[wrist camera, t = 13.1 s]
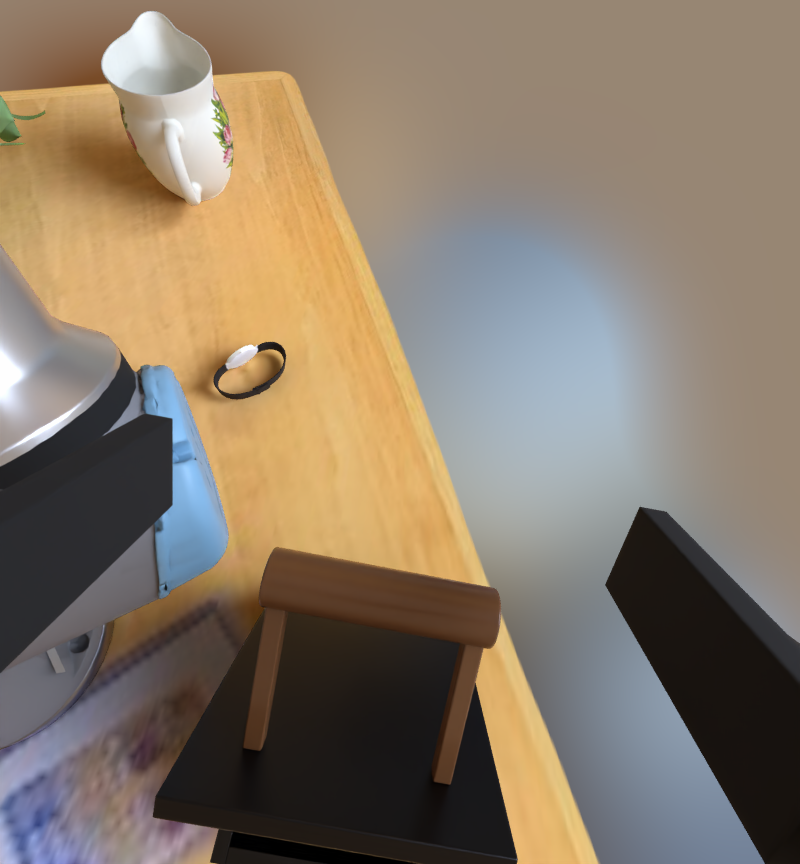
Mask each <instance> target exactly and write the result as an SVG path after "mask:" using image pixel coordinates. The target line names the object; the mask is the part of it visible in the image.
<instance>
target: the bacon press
mask: <svg viewBox="0 0 800 864" xmlns="http://www.w3.org/2000/svg"><path fill="white" fill-rule="evenodd" d="M259 604H260V606H262V607H265V608H264V610H263V612H262V614H261V615H260V617H259V619H258V620H257V622H256V624H255V626H254V627H253V629H252V631H251V633H250V634H249V636H248V638H247V639H246V641H245V643H244V645H243V646H242V648H241V650H240V652H239V653H238V655H237V657H236V658H235V660H234V662H233V664H232V665H231V667H230V669H229V671H228V672H227V674H226V676H225V677H224V679H223V681H222V683H221V684H220V686H219V688H218V690H217V691H216V693H215V695H214V696H213V698H212V700H211V702H210V703H209V705H208V707H207V709H206V710H205V712H204V714H203V715H202V717H201V719H200V721H199V722H198V724H197V726H196V728H195V729H194V731H193V733H192V734H191V736H190V738H189V740H188V741H187V743H186V745H185V747H184V748H183V750H182V752H181V753H180V755H179V757H178V759H177V760H176V762H175V764H174V766H173V767H172V769H171V771H170V772H169V774H168V776H167V778H166V779H165V781H164V783H163V785H162V786H161V788H160V790H159V791H158V793H157V795H156V798H155V805H154V812H153V817H154V818H159V819H165V820H171V821H176V822H182V823H188V824H194V825H199V826H205V827H211V828H217V829H223V830H228V831H234V832H240V833H246V834H251V835H257V836H263V837H269V838H274V839H280V840H286V841H292V842H297V843H303V844H309V845H315V846H321V847H326V848H332V849H338V850H344V851H349V852H355V853H361V854H367V855H372V856H378V857H384V858H390V859H396V860H401V861H407V862H413V863H419V864H517V860H518V859H517V854H516V850H515V846H514V842H513V838H512V834H511V829H510V825H509V821H508V817H507V813H506V808H505V804H504V800H503V796H502V792H501V787H500V783H499V779H498V775H497V771H496V767H495V762H494V758H493V754H492V750H491V746H490V741H489V737H488V733H487V729H486V725H485V721H484V716H483V712H482V708H481V704H480V700H479V695H478V691H477V687H476V683H475V681H476V677H477V673H478V669H479V665H480V661H481V657H482V652H483V648H487V649H490V648H492V647H493V646H494V644H495V642H496V639H497V636H498V632H499V627H500V620H501V603H500V597H499V593H498V591H497V590H496V589H494V588H491V587H486V586H480V585H475V584H470V583H465V582H459V581H454V580H449V579H443V578H438V577H433V576H428V575H422V574H417V573H412V572H406V571H401V570H396V569H390V568H385V567H380V566H375V565H369V564H364V563H359V562H353V561H348V560H343V559H338V558H332V557H327V556H322V555H316V554H311V553H306V552H301V551H295V550H290V549H285V548H279V547H277V548H275V549H274V550H273V551H272V553H271V555H270V557H269V559H268V561H267V564H266V567H265V570H264V573H263V577H262V581H261V586H260V592H259Z"/></svg>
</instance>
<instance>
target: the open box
mask: <svg viewBox="0 0 800 864" xmlns="http://www.w3.org/2000/svg"><path fill="white" fill-rule="evenodd" d="M210 862H211V863H216V864H419V863H413V862H407V861H401V860H396V859H390V858H384V857H378V856H372V855H367V854H361V853H355V852H349V851H344V850H338V849H332V848H326V847H321V846H315V845H309V844H303V843H297V842H292V841H286V840H280V839H274V838H269V837H263V836H257V835H251V834H246V833H240V832H234V831H228V830H223V829H219V830H218V834H217V837H216V841H215V845H214V849H213V853H212V856H211V860H210Z"/></svg>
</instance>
